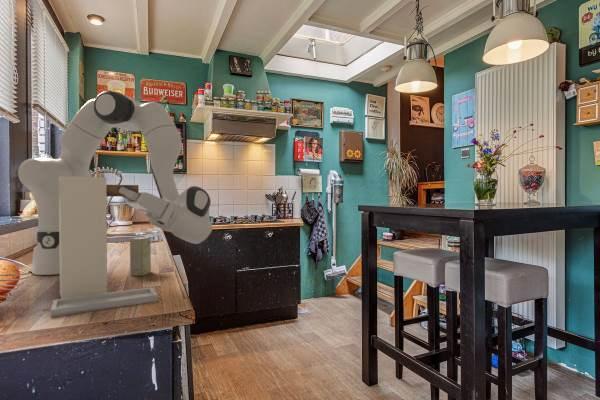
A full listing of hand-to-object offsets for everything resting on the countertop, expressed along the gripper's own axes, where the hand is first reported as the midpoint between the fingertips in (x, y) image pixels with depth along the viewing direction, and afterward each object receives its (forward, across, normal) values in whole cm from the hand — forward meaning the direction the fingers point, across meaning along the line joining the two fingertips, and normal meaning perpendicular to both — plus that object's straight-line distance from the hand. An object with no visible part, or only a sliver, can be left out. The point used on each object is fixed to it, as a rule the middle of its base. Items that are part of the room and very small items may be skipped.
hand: (117, 189), depth 98 cm
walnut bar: (+2, 0, +4) cm, 4 cm away
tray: (-10, +14, +27) cm, 32 cm away
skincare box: (-22, -17, +20) cm, 34 cm away
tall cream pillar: (-7, 0, +28) cm, 29 cm away
